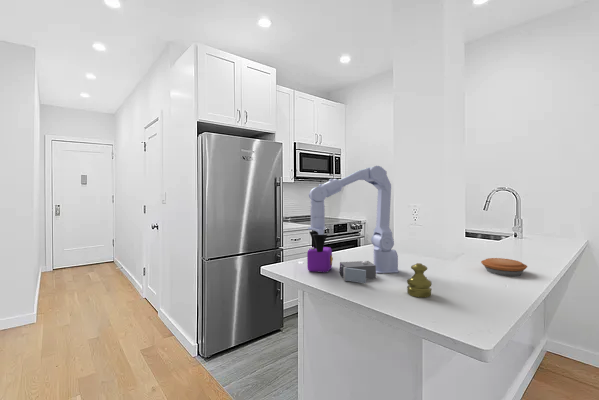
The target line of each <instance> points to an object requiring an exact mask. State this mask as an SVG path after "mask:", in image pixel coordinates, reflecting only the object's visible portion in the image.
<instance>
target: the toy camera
mask: <svg viewBox="0 0 599 400" xmlns="http://www.w3.org/2000/svg"><path fill="white" fill-rule="evenodd" d="M306 257H307V258H306V259H307V260H306V261H307V262H306V263H307V271H308V272H313V273H315V272H316V273H328V272H330V271H331V269H332V267H333V260H334V257H333V249H332V248H331V247H330V246H329V247H328V246H324V248H323V252H317V249H316V248H314V246H312V247H310V248H309V249H308V250H307V254H306Z"/></svg>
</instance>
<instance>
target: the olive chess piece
mask: <svg viewBox="0 0 599 400" xmlns="http://www.w3.org/2000/svg"><path fill="white" fill-rule="evenodd" d="M410 269H411V270H413V272H414V274H412V275H411V276H410V277H409V278H407V280H406V283H407V287H406V289H407V290H406V291H407V294H408V295H409V296H411V297H414V298H422V299H425V298H431V296H432V285H433V284H432V281H431V280H430V279H429V278H427V276H426V275H425V272H426V271H428V267H427V266H426V265H423V264H422V263H418V262H417V263H416V264H412V265H411V266H410Z"/></svg>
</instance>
